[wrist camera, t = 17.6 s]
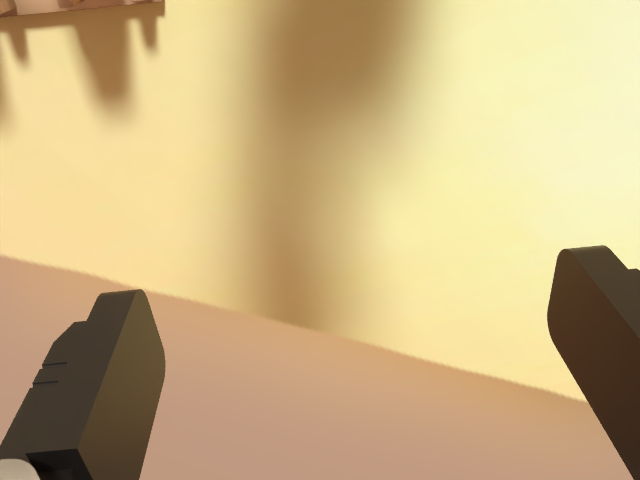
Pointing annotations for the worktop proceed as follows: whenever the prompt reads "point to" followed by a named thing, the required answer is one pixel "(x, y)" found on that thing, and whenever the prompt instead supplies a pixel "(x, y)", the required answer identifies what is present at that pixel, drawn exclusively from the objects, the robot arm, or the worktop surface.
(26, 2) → the dish rack
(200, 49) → the worktop surface
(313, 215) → the worktop surface
